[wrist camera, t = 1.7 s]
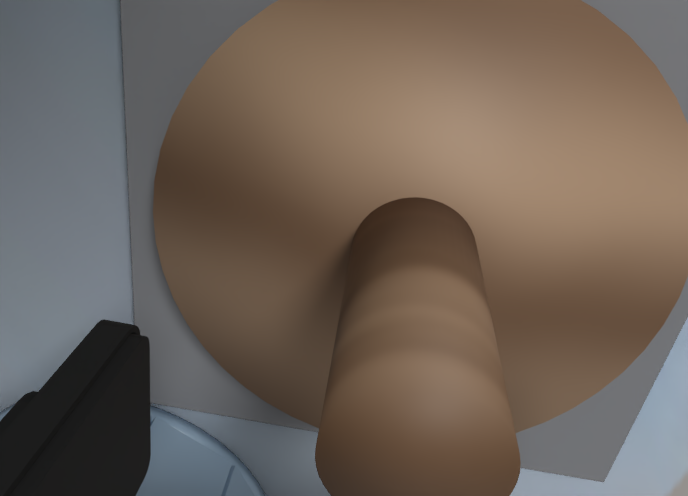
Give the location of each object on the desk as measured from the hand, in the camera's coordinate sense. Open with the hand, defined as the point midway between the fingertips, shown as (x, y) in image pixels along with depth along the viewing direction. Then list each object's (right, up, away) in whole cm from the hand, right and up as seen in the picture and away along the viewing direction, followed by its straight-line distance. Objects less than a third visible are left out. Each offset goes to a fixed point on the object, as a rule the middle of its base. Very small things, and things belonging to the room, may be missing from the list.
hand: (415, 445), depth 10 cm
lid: (+1, +4, +4) cm, 6 cm away
